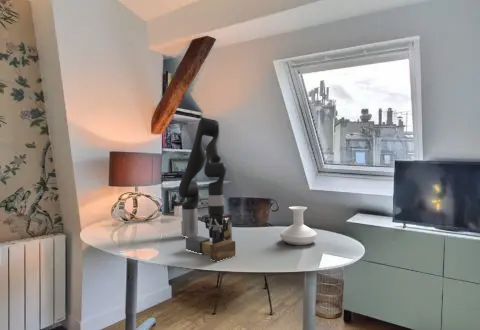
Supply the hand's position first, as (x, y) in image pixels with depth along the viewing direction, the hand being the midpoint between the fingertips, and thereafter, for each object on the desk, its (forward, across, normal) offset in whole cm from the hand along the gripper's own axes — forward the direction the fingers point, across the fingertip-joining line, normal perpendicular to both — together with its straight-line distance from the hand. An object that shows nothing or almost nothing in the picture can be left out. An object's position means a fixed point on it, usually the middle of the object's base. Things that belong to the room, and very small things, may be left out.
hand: (216, 238), depth 162 cm
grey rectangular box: (+9, -13, 0) cm, 16 cm away
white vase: (+9, +18, +46) cm, 50 cm away
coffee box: (+9, -13, +18) cm, 24 cm away
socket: (+9, +4, 0) cm, 9 cm away
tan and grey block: (+8, -3, 0) cm, 8 cm away
